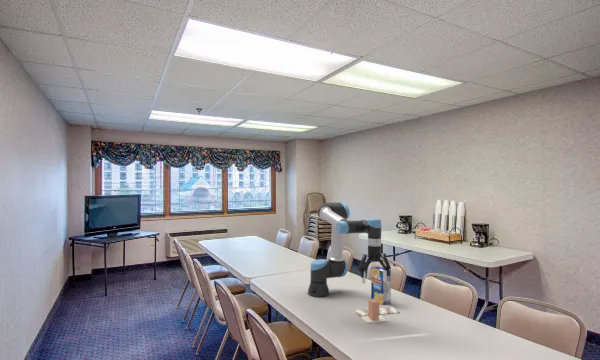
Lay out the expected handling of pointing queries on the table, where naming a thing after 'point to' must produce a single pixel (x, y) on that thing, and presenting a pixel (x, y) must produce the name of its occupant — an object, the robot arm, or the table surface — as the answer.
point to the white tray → (381, 311)
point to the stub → (373, 313)
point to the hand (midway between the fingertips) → (374, 282)
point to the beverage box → (380, 286)
